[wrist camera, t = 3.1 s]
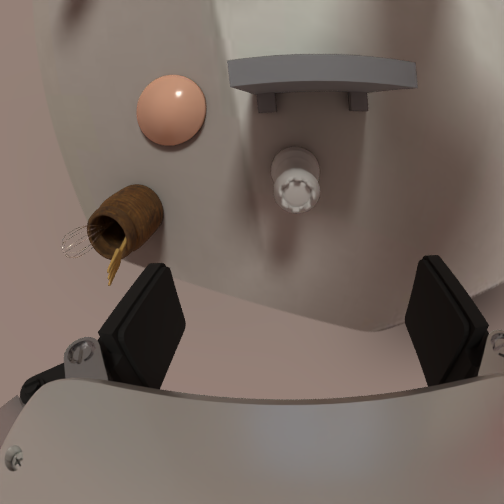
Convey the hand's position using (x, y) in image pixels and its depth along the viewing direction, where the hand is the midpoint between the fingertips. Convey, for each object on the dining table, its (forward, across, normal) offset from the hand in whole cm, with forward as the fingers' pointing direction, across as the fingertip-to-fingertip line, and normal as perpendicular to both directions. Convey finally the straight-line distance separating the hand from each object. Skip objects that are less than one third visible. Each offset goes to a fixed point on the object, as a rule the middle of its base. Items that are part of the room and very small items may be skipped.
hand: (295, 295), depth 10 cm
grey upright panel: (+18, -2, -9) cm, 20 cm away
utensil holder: (+18, +16, +2) cm, 24 cm away
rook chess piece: (+18, 0, -1) cm, 18 cm away
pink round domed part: (+18, +11, -8) cm, 22 cm away
